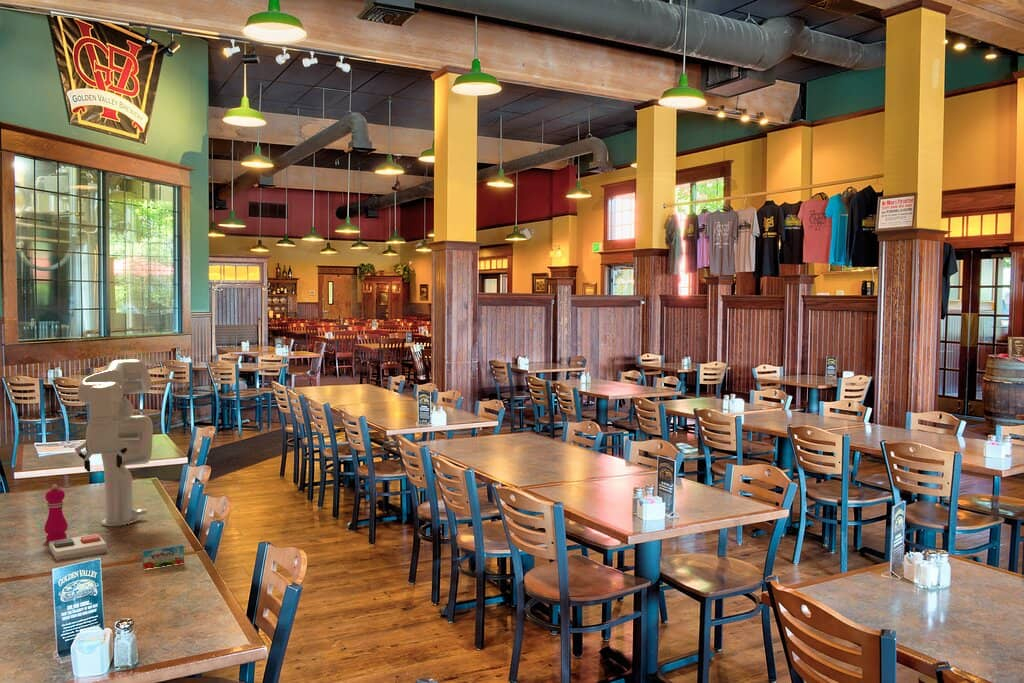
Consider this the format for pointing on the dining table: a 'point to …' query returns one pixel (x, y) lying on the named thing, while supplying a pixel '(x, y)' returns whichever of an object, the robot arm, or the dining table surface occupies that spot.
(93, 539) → the button red
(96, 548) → the switch panel
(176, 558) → the blue printed product box
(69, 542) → the button black
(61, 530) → the pepper mill
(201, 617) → the dining table surface
